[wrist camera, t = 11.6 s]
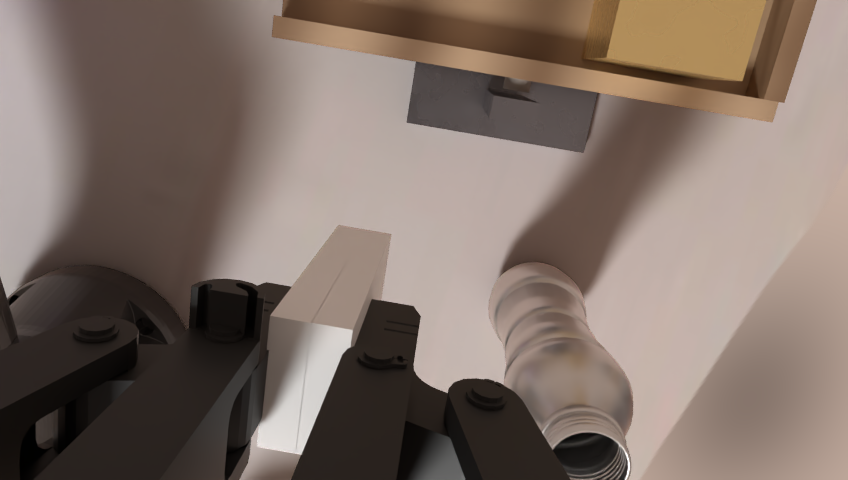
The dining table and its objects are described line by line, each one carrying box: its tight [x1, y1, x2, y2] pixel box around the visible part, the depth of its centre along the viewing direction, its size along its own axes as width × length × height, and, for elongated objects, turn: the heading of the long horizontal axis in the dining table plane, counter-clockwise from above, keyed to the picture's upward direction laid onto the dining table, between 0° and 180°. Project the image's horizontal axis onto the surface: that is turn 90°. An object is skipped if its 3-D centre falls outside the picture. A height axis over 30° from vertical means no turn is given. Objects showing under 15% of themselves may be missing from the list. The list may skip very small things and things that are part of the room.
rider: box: [581, 0, 766, 81], centre depth 28 cm, size 6×5×5 cm
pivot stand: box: [407, 62, 598, 153], centre depth 35 cm, size 12×16×10 cm
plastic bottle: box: [488, 262, 633, 480], centre depth 36 cm, size 6×7×20 cm
